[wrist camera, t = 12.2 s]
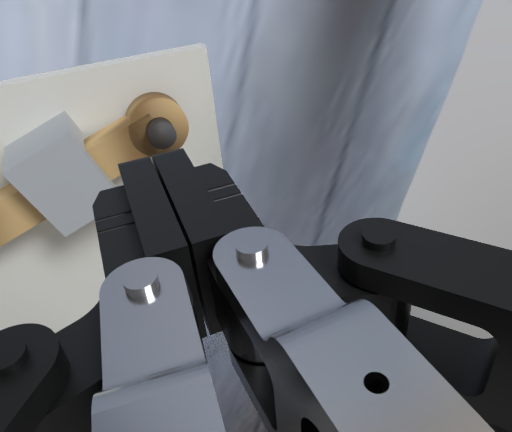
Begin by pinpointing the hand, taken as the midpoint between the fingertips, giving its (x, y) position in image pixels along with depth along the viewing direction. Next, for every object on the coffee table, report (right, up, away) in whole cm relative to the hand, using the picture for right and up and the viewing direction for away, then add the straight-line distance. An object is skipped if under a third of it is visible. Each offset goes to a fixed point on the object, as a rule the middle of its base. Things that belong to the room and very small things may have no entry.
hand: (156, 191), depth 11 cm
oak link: (-11, +3, +25) cm, 28 cm away
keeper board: (-13, 0, +29) cm, 32 cm away
